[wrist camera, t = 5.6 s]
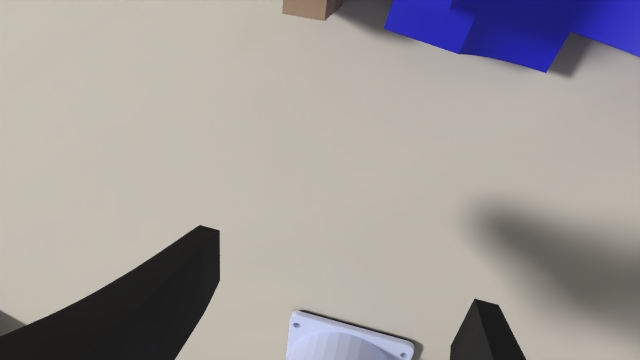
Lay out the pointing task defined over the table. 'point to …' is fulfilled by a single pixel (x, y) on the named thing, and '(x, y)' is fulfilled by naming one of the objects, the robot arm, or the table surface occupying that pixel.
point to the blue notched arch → (516, 26)
